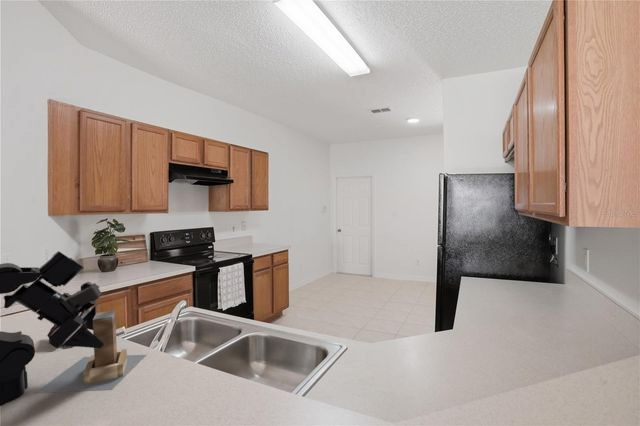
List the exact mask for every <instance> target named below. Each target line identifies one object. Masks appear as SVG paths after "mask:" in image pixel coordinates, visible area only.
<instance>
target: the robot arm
mask: <svg viewBox="0 0 640 426" xmlns="http://www.w3.org/2000/svg"><path fill="white" fill-rule="evenodd" d="M84 269H85V267H84V266H83V265H81V264H80V263H79V262H78V261H76V260H75V259H73V258H72V257H69V256H67V255H66V254H64V253H62V252H61V251H60V250H57V252H55V253H54V254H52V256H51V257H50V259H48V260H47V261H45V263H44V264H43V265H41V266H40V267H36V266H35V267H33V266H32V267H31V266H30V267H29V266H27V267H25V266H23V267H21V266H19V265H17V264H14V263H10V262H7V263H6V262H4V263H1V264H0V295H3V300H4V306H3V308H4V309H8V308H11V307H12V306H13V305H14V304H16V303H18V304H19V305H21V306H23V307H25V308H26V309H28V310H30V311H31V312H33V313H35V314H37V315H38V317H37V318H36V319H37V320H39V321H43V320H46V321H47V322H50V323H51V324H53V325H54V324H55V325H56V326H55V328H54V329H56V330H55V331H54V332H53V333H52V335H51V336H50V337H48V344H49V345H51V346H52V347H54V348H56V349H58V348H59V347H61V348H65V347H76V348H79V347H80V348H92V349H94V348H101V347H102V346H103V345H104V344H103V343H102V342H101V341H100V340H99V339H98V338H97V337H96V336H95V335H93V333H92V332H91V331H93V318H94V316H95V315H96V313H98V304H97V301H96V300H98V299H99V298H100V297H101V295H102V294H103V293H102V291H101V290H100V285H99V284H96V282H94V283H92V282H90V281H87V282H84V283H82V284H81V285H80V290H78V291H76V292H75V293H73V294H70V293H69V292H63V294H62V293H60V291H59V292H58V291H57V290H56V289H54V288H52V287H51V286H49V285H47V284H46V283H48V284H50V285H52V286H53V287H55V288H57V287H61V286H66V285H67V284H69V283H70V282H71V281H72V280H73V279H74V278H75V277H76V276H77V275H78V274H79V273H81V272H82V271H83V270H84ZM42 280H44V281H45V282H46V283H44V282H43V281H42ZM30 283H31V284H30ZM28 284H30V285H28ZM12 292H13V293H12ZM10 293H12V294H10ZM4 294H6V295H4ZM90 330H91V331H90ZM64 341H65V342H64ZM63 342H64V343H63ZM35 353H36V348H35V344H34V339H32V337H31V336H30V335H27V334H23V333H22V331H17V332H16V331H15V332H7V331H0V407H2V406H4V405H5V404H7V403H10V402H13V401H16V400H17V399H19V398H20V397H22V396H23V395H24V394H25V392H26V390H27V389H28V387H29V385H28V371H27V369H26V367H27V365H29V363H31V361H33V359H34V357H35Z"/></svg>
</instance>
